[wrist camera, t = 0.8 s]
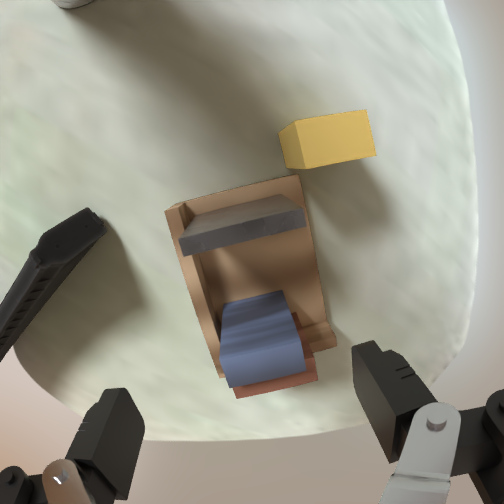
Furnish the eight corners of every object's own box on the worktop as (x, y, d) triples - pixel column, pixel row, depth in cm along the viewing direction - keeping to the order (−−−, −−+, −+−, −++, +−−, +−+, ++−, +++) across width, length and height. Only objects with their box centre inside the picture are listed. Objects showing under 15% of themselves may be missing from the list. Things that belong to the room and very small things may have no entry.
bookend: (196, 214, 30) (177, 239, 20) (281, 193, 29) (302, 207, 20) (200, 227, 30) (183, 257, 20) (283, 206, 30) (306, 226, 20)
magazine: (66, 198, 21) (-76, 401, 17) (91, 229, 22) (-57, 424, 17) (104, 210, 38) (-18, 353, 33) (120, 229, 38) (-4, 369, 34)
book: (278, 133, 29) (294, 120, 21) (331, 123, 29) (366, 109, 21) (286, 168, 30) (306, 169, 22) (339, 157, 30) (376, 155, 22)
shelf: (175, 203, 31) (142, 225, 20) (295, 173, 31) (328, 179, 19) (221, 351, 35) (217, 423, 24) (325, 326, 35) (358, 389, 24)
